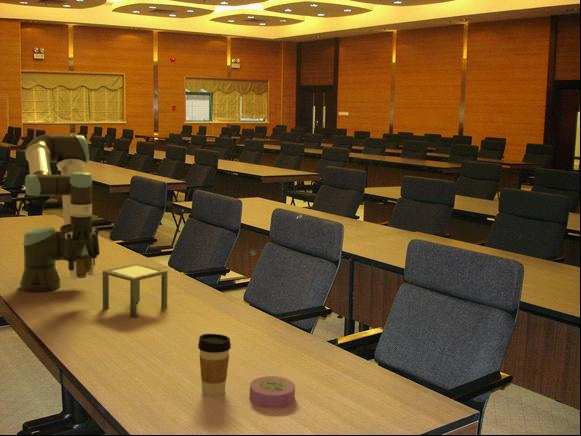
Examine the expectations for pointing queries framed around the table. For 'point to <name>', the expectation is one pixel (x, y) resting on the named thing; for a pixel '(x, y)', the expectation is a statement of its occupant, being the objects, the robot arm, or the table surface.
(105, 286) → the trapdoor frame
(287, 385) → the masking tape
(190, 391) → the table surface
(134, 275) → the trapdoor
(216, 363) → the coffee cup
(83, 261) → the dark piece
